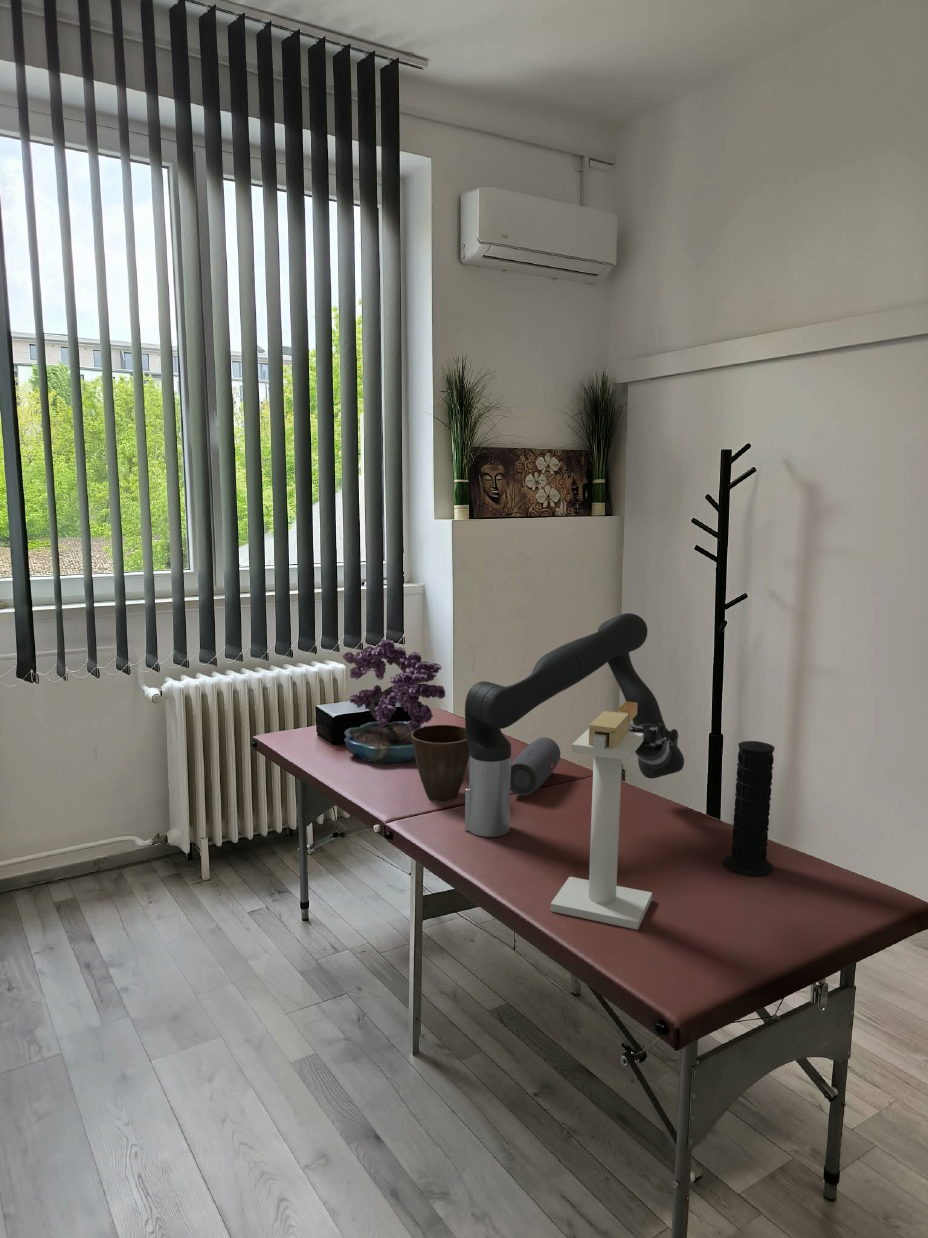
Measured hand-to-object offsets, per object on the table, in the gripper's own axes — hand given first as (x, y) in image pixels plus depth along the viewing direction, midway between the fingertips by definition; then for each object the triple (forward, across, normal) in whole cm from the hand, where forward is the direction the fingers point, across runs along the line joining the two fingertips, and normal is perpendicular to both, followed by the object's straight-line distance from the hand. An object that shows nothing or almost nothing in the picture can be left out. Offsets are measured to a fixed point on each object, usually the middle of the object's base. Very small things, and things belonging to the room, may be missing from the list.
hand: (638, 725), depth 184 cm
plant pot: (-24, -50, +18) cm, 58 cm away
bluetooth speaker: (-39, -32, +10) cm, 51 cm away
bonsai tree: (-45, -75, +6) cm, 87 cm away
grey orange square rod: (+20, 0, +6) cm, 21 cm away
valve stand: (+9, 0, +37) cm, 38 cm away
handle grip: (-16, +23, +23) cm, 36 cm away
